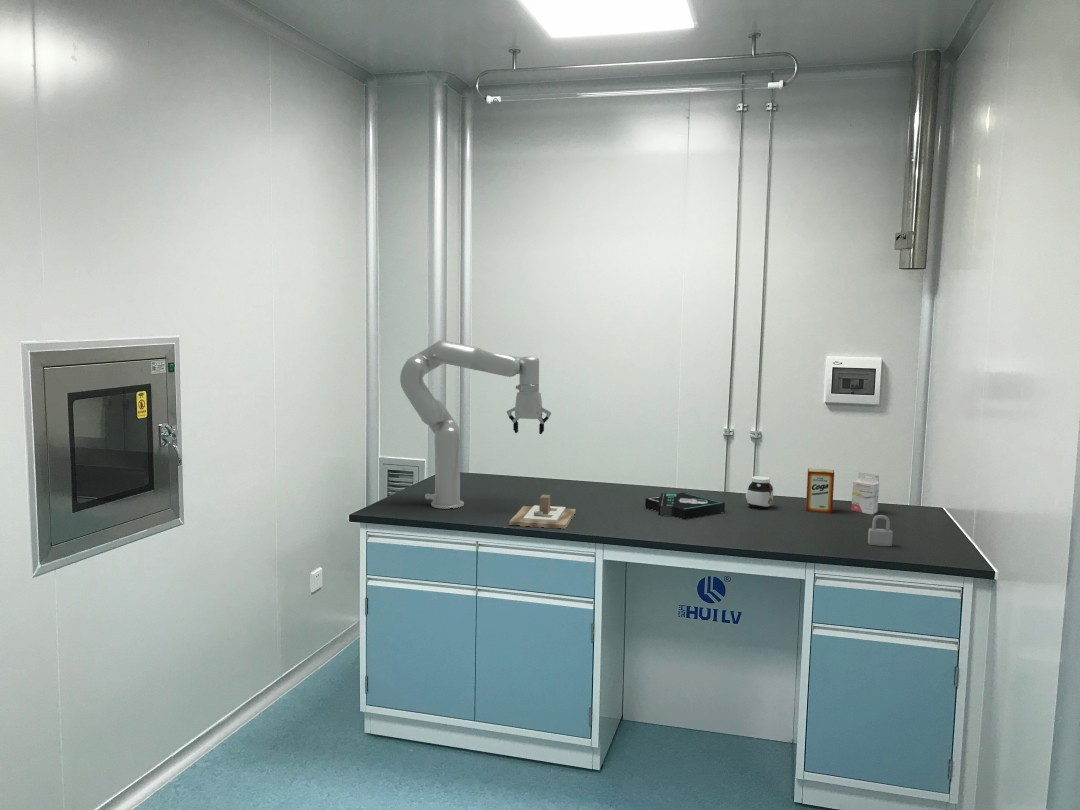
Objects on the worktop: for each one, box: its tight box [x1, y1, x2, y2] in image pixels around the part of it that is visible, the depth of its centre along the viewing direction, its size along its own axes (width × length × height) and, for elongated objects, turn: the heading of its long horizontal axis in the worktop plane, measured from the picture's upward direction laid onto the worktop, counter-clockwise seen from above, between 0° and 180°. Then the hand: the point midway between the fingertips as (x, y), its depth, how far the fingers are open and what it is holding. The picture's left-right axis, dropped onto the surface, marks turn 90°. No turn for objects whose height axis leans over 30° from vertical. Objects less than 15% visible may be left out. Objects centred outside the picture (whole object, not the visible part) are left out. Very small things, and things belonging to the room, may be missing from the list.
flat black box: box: [644, 492, 726, 520], centre depth 318 cm, size 30×4×30 cm
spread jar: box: [745, 475, 774, 510], centre depth 326 cm, size 12×11×12 cm
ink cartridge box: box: [850, 471, 880, 515], centre depth 318 cm, size 9×5×15 cm, turn 47°
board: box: [508, 504, 577, 530], centre depth 301 cm, size 20×24×4 cm
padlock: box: [867, 514, 894, 547], centre depth 272 cm, size 7×4×10 cm, turn 75°
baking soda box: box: [805, 467, 835, 514], centre depth 319 cm, size 10×6×16 cm
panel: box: [523, 494, 567, 523], centre depth 300 cm, size 12×20×7 cm, turn 169°
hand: (528, 433), depth 319 cm, fingers open, 9 cm apart
